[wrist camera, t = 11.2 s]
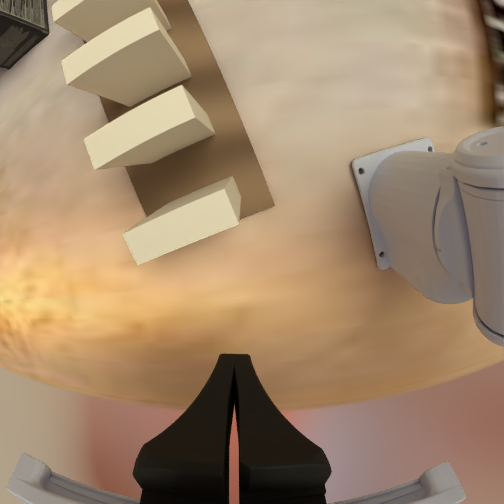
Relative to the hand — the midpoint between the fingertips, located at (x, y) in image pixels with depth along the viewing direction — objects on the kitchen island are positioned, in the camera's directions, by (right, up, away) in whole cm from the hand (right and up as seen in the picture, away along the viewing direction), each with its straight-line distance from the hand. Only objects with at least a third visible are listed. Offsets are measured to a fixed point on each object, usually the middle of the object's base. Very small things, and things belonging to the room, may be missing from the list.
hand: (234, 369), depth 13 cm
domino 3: (-4, +13, +6) cm, 15 cm away
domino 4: (-3, +9, +7) cm, 12 cm away
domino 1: (-8, +22, +3) cm, 23 cm away
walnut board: (-6, +17, +5) cm, 19 cm away
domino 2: (-6, +18, +4) cm, 19 cm away
